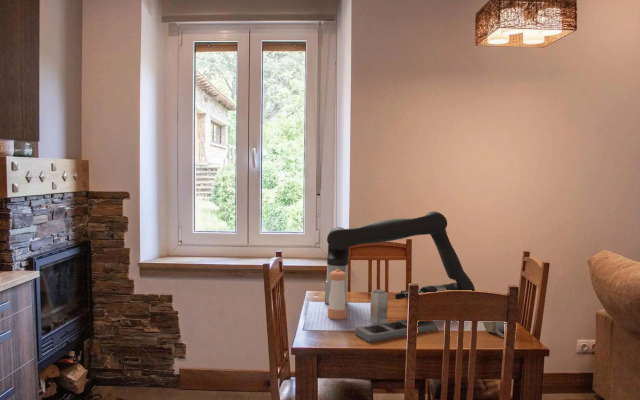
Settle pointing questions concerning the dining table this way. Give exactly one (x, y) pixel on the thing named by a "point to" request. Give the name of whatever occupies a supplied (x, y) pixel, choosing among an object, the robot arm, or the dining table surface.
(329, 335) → the dining table surface
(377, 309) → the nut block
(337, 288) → the pepper mill
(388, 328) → the grey compartment tray
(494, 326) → the ceramic mug
